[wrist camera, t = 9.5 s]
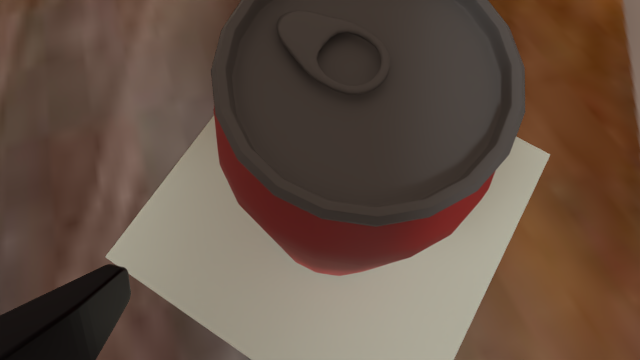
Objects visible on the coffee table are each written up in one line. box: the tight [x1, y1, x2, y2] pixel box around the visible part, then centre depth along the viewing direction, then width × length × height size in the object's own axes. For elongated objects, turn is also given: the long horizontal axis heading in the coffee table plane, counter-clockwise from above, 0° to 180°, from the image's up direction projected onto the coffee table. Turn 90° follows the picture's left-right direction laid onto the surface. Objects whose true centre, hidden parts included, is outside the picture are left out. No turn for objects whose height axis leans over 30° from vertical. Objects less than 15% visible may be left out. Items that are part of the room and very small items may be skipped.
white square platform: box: [106, 116, 550, 360], centre depth 20 cm, size 16×16×4 cm
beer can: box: [211, 0, 525, 276], centre depth 12 cm, size 7×7×12 cm
